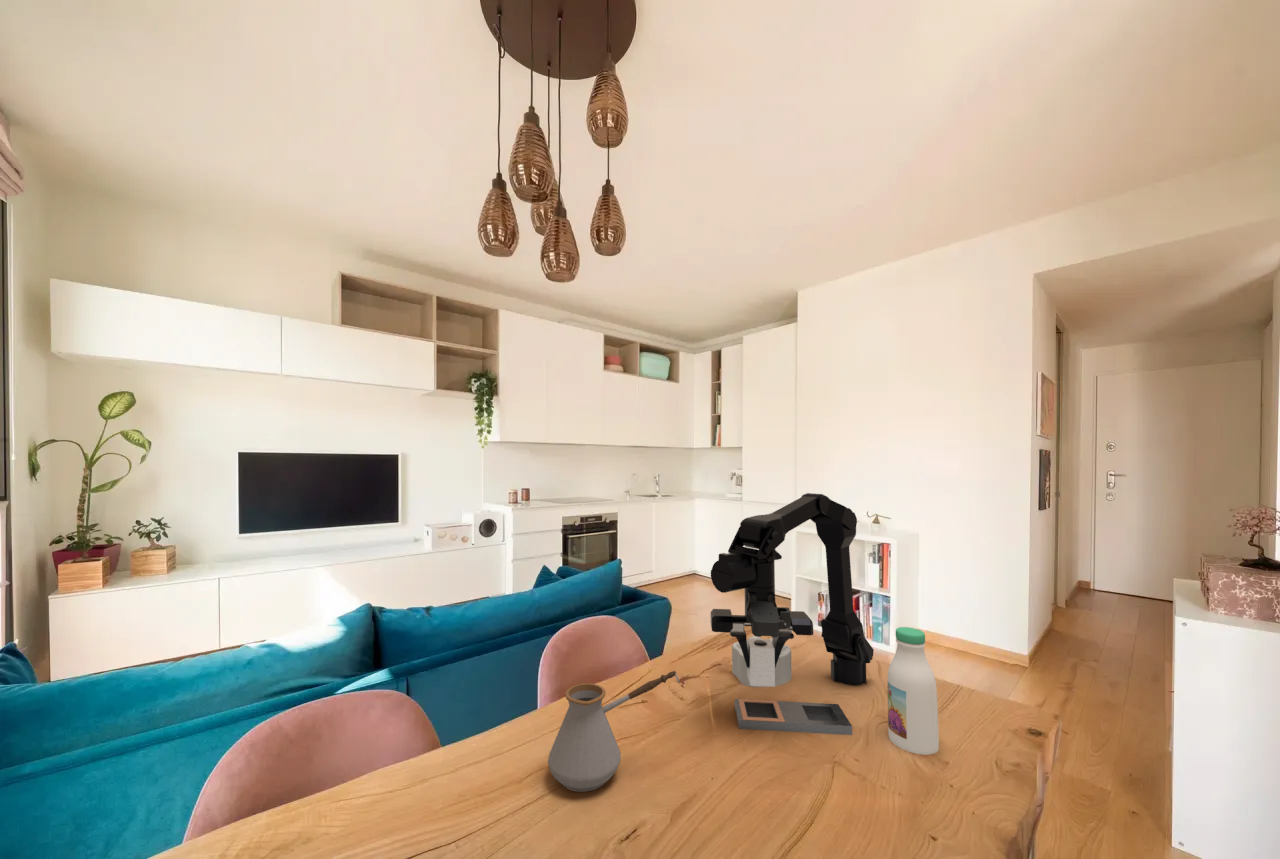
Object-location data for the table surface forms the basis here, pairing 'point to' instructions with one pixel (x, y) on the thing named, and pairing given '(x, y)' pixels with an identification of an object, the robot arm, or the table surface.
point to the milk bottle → (912, 696)
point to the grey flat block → (791, 716)
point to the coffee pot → (589, 737)
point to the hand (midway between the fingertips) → (760, 667)
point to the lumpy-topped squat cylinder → (781, 670)
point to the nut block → (761, 662)
